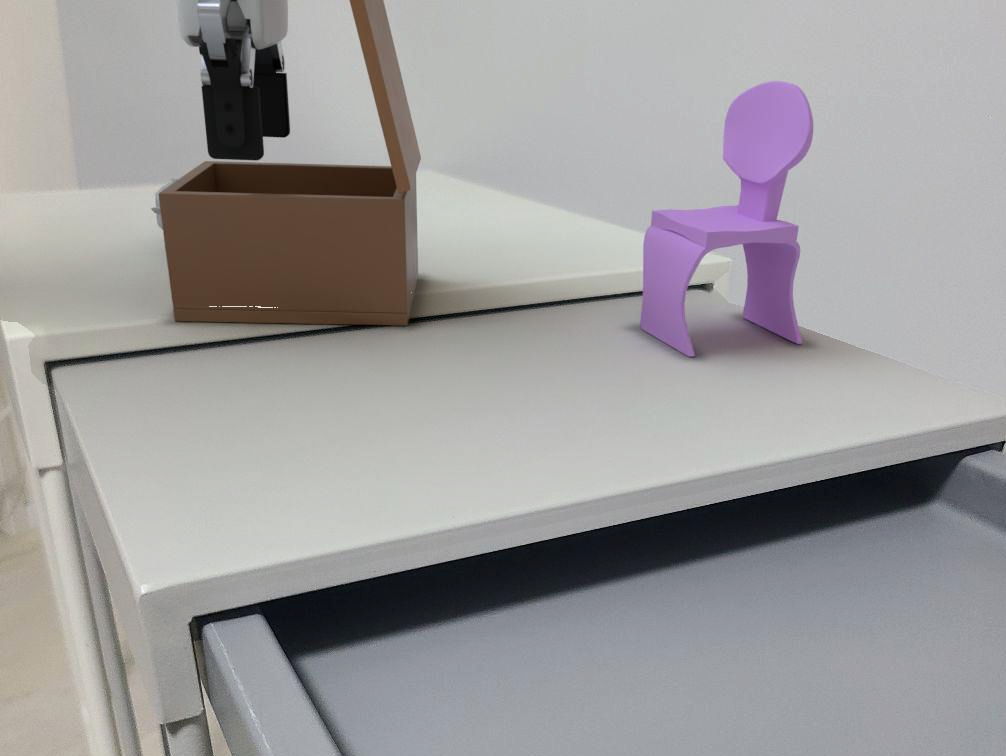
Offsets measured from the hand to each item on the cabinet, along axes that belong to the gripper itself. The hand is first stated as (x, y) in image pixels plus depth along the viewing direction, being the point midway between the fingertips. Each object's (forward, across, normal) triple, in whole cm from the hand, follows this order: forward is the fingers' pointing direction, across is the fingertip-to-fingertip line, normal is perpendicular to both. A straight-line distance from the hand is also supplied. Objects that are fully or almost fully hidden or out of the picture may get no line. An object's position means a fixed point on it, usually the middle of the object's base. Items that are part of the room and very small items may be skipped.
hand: (252, 146), depth 68 cm
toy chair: (+10, +7, +30) cm, 32 cm away
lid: (-6, 0, +8) cm, 10 cm away
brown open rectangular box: (+10, 0, +3) cm, 10 cm away
